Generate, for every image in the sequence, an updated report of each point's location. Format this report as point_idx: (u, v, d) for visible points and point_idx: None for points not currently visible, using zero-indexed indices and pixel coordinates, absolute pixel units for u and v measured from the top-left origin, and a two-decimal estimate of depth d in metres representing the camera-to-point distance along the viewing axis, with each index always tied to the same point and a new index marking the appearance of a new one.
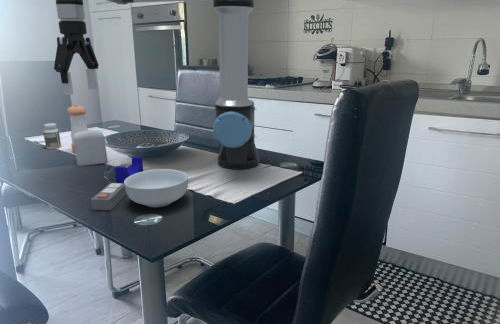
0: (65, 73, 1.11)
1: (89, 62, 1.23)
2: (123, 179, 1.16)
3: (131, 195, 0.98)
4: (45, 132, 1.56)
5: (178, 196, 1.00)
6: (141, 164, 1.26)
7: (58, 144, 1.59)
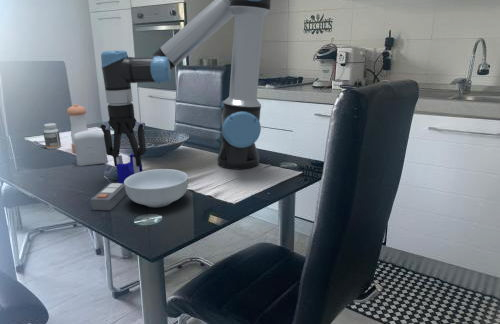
0: (114, 157, 1.20)
1: None
2: (125, 176, 1.16)
3: (131, 195, 0.98)
4: (45, 132, 1.56)
5: (178, 196, 1.00)
6: None
7: (58, 144, 1.59)
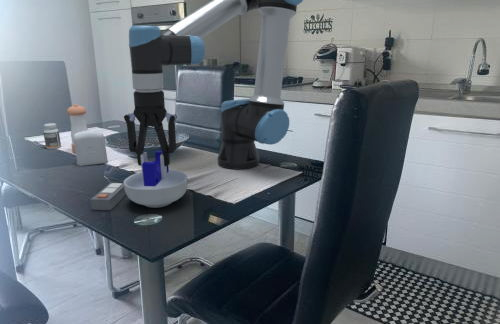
0: (138, 155, 1.01)
1: None
2: (152, 177, 0.96)
3: (131, 195, 0.98)
4: (45, 132, 1.56)
5: (178, 196, 1.00)
6: None
7: (58, 144, 1.59)
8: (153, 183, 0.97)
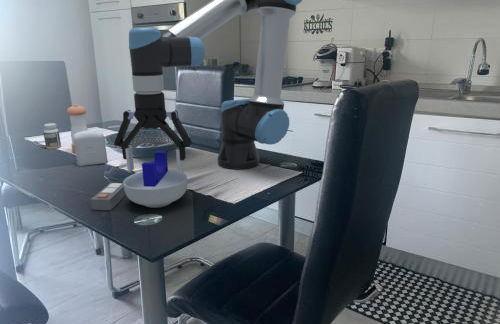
0: (123, 149, 1.01)
1: None
2: (152, 178, 0.96)
3: (130, 195, 0.98)
4: (45, 132, 1.56)
5: (177, 196, 1.00)
6: (166, 159, 1.06)
7: (58, 144, 1.59)
8: (153, 183, 0.97)
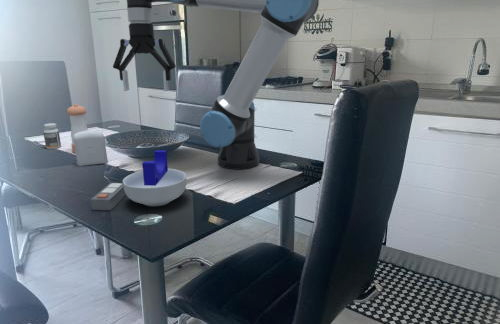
0: (120, 71, 1.25)
1: None
2: (153, 177, 0.97)
3: (130, 194, 0.98)
4: (45, 132, 1.56)
5: (177, 195, 1.01)
6: (166, 159, 1.07)
7: (58, 144, 1.59)
8: (153, 182, 0.97)
